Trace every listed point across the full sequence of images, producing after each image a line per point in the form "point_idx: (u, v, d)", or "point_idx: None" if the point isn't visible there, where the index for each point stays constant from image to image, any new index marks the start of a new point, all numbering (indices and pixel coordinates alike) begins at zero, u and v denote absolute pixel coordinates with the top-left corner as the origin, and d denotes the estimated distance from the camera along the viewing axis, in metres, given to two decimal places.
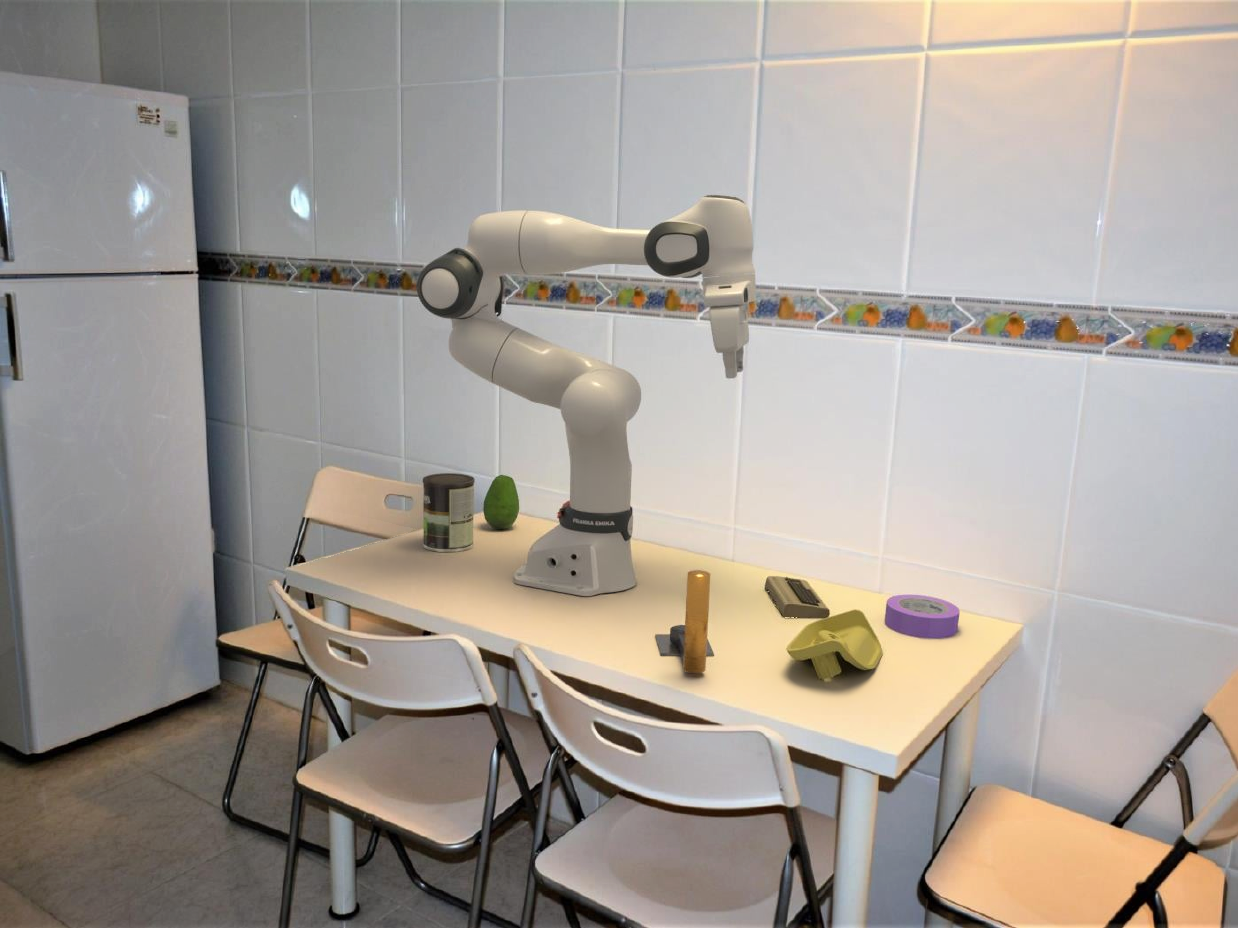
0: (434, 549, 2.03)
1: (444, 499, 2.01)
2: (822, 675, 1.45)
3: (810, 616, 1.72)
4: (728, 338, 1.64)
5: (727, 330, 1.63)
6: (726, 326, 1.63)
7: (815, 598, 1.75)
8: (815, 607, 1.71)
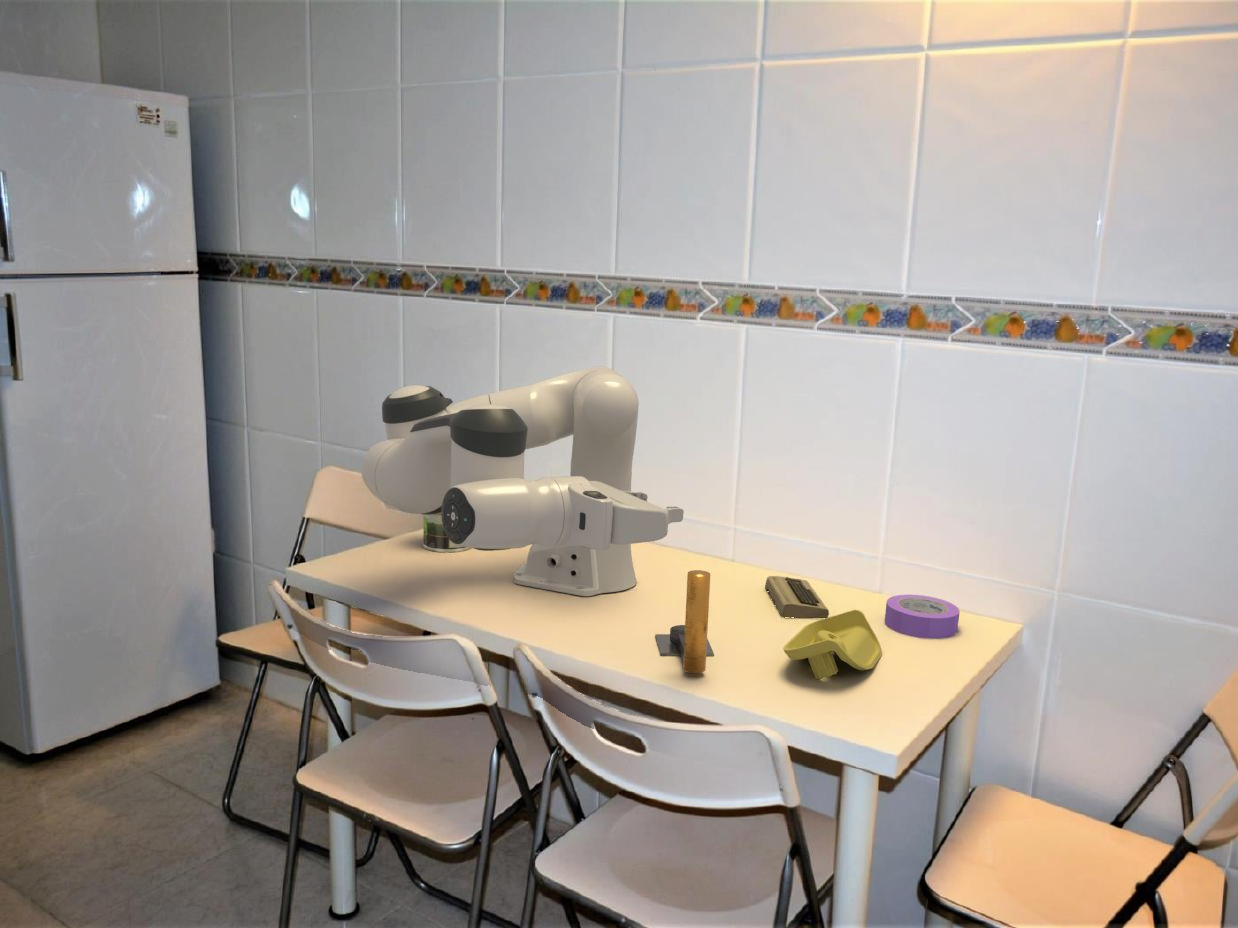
0: (434, 549, 2.03)
1: None
2: (819, 675, 1.45)
3: (809, 616, 1.71)
4: (655, 521, 1.26)
5: (646, 522, 1.26)
6: (641, 523, 1.25)
7: (814, 598, 1.75)
8: (814, 607, 1.71)
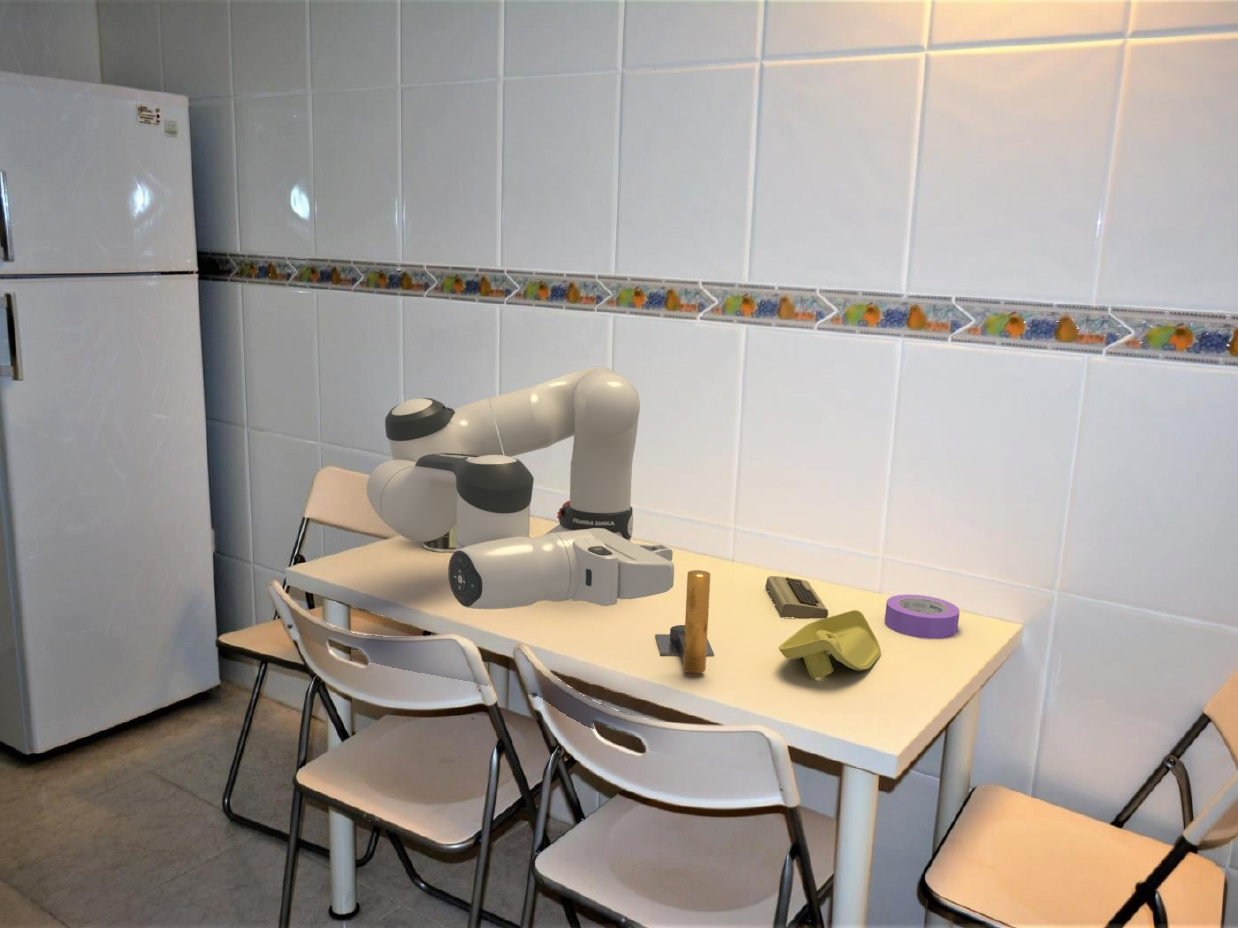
0: (434, 549, 2.03)
1: None
2: (813, 674, 1.45)
3: (808, 616, 1.71)
4: (661, 574, 1.27)
5: (652, 576, 1.26)
6: (647, 577, 1.26)
7: (814, 598, 1.75)
8: (813, 607, 1.71)
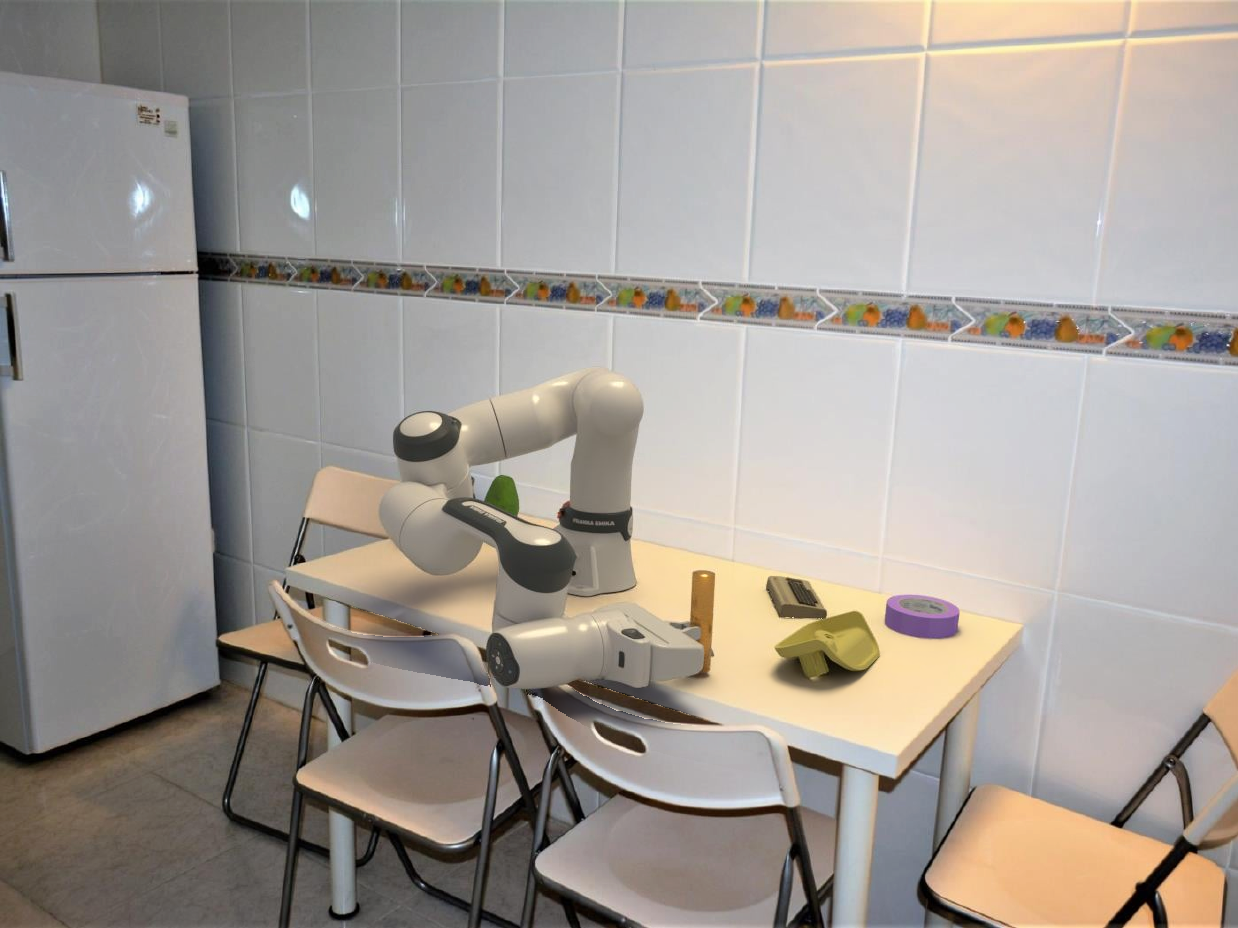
0: None
1: None
2: (808, 674, 1.45)
3: (807, 617, 1.71)
4: (692, 657, 1.31)
5: (682, 659, 1.31)
6: (678, 661, 1.31)
7: (813, 599, 1.75)
8: (812, 608, 1.71)
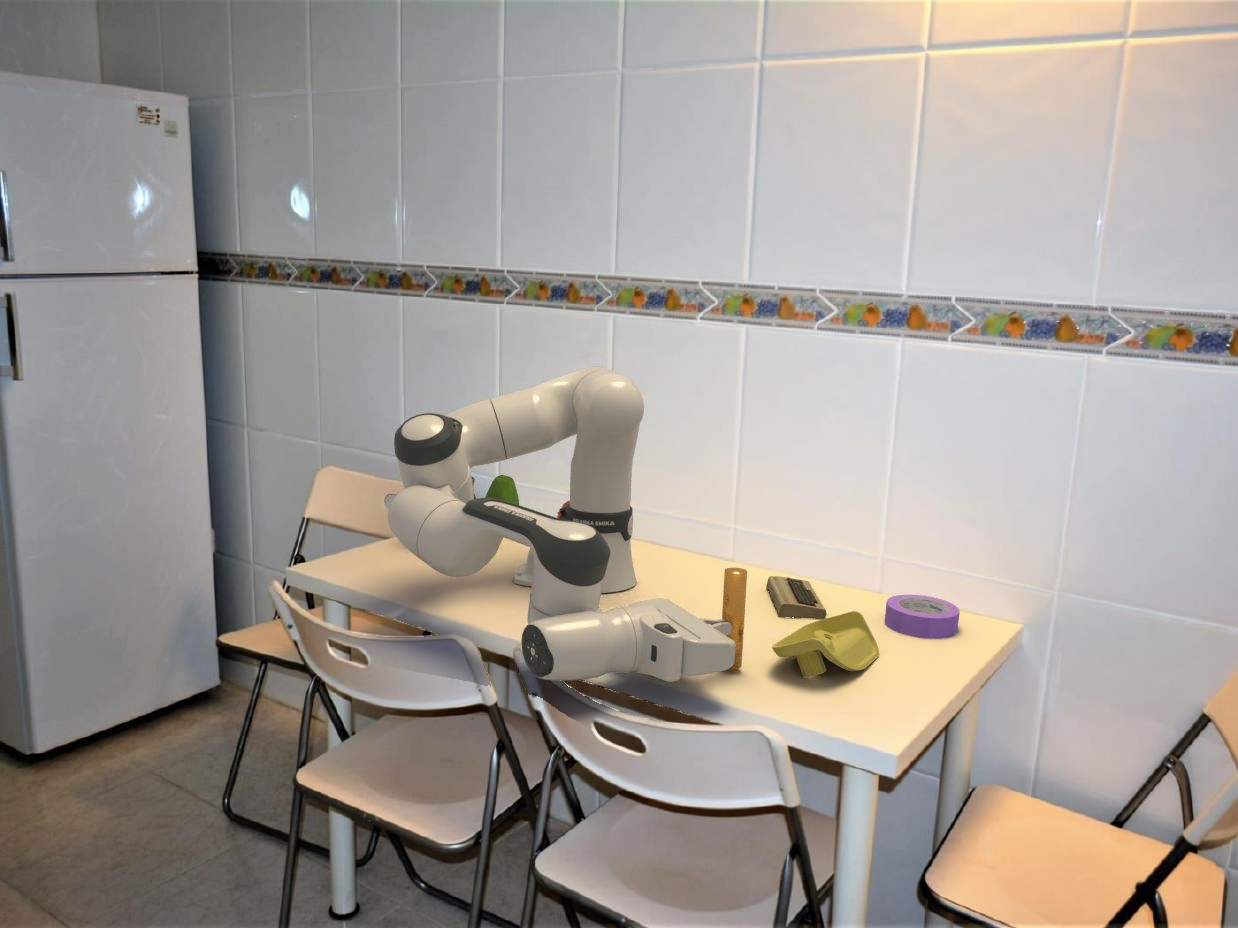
0: None
1: None
2: (805, 673, 1.46)
3: (806, 616, 1.71)
4: (723, 653, 1.33)
5: (714, 654, 1.33)
6: (709, 656, 1.32)
7: (813, 599, 1.75)
8: (811, 607, 1.71)
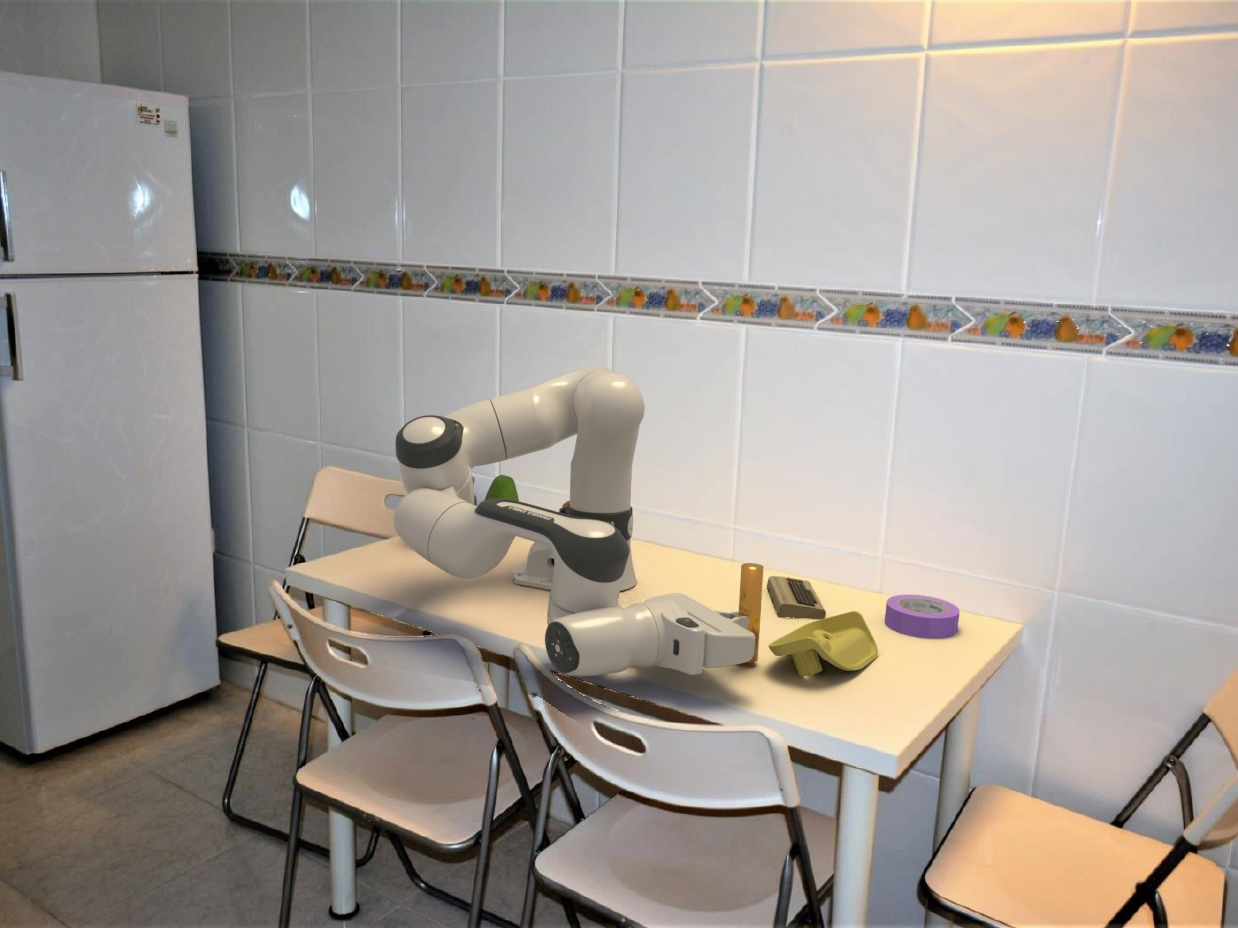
0: None
1: None
2: (801, 672, 1.46)
3: (806, 616, 1.71)
4: (744, 645, 1.36)
5: (735, 647, 1.35)
6: (731, 648, 1.35)
7: (813, 599, 1.75)
8: (810, 608, 1.71)
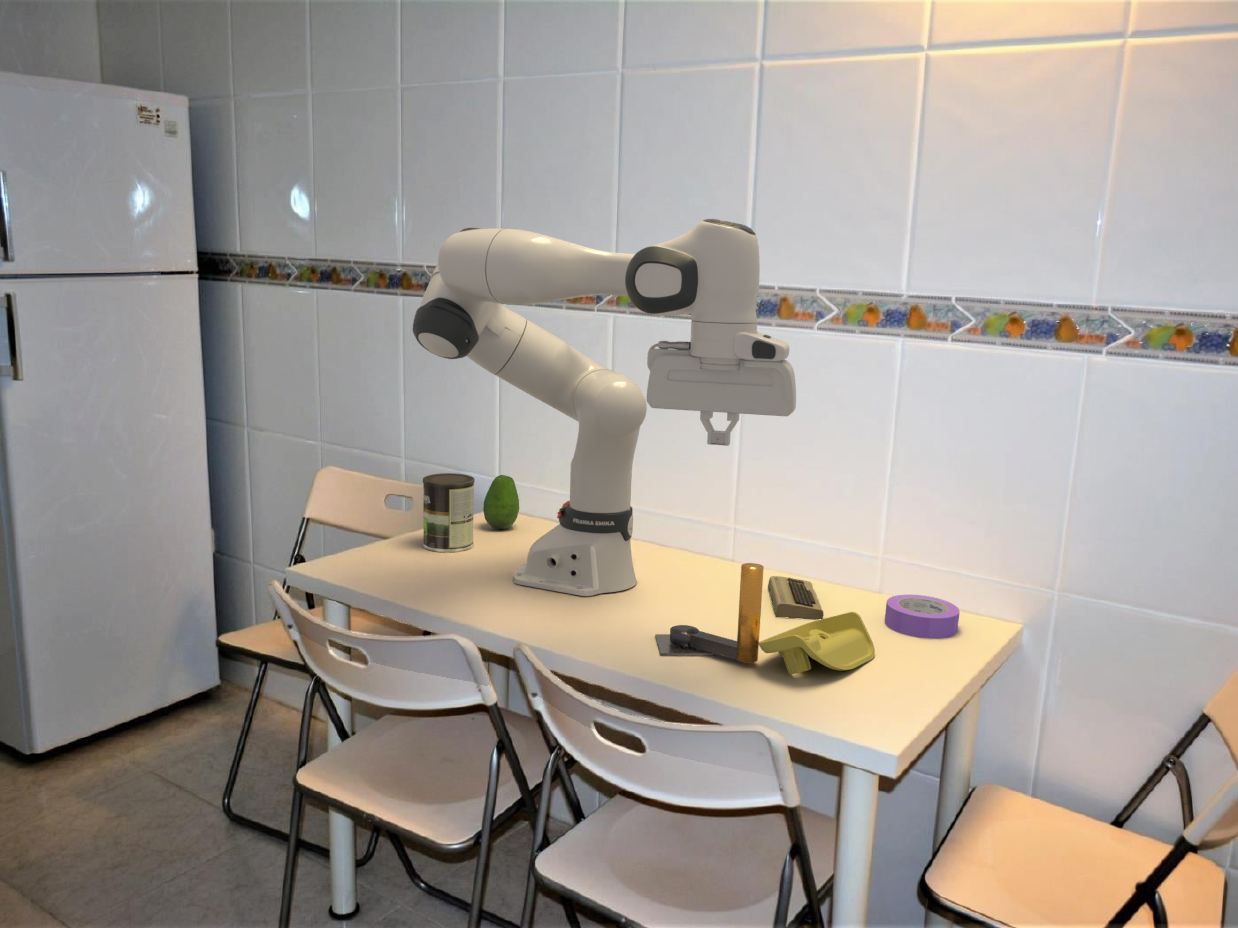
0: (434, 549, 2.03)
1: (444, 499, 2.01)
2: (790, 670, 1.46)
3: (803, 617, 1.71)
4: (795, 398, 1.37)
5: None
6: (794, 384, 1.36)
7: (811, 599, 1.74)
8: (808, 608, 1.71)
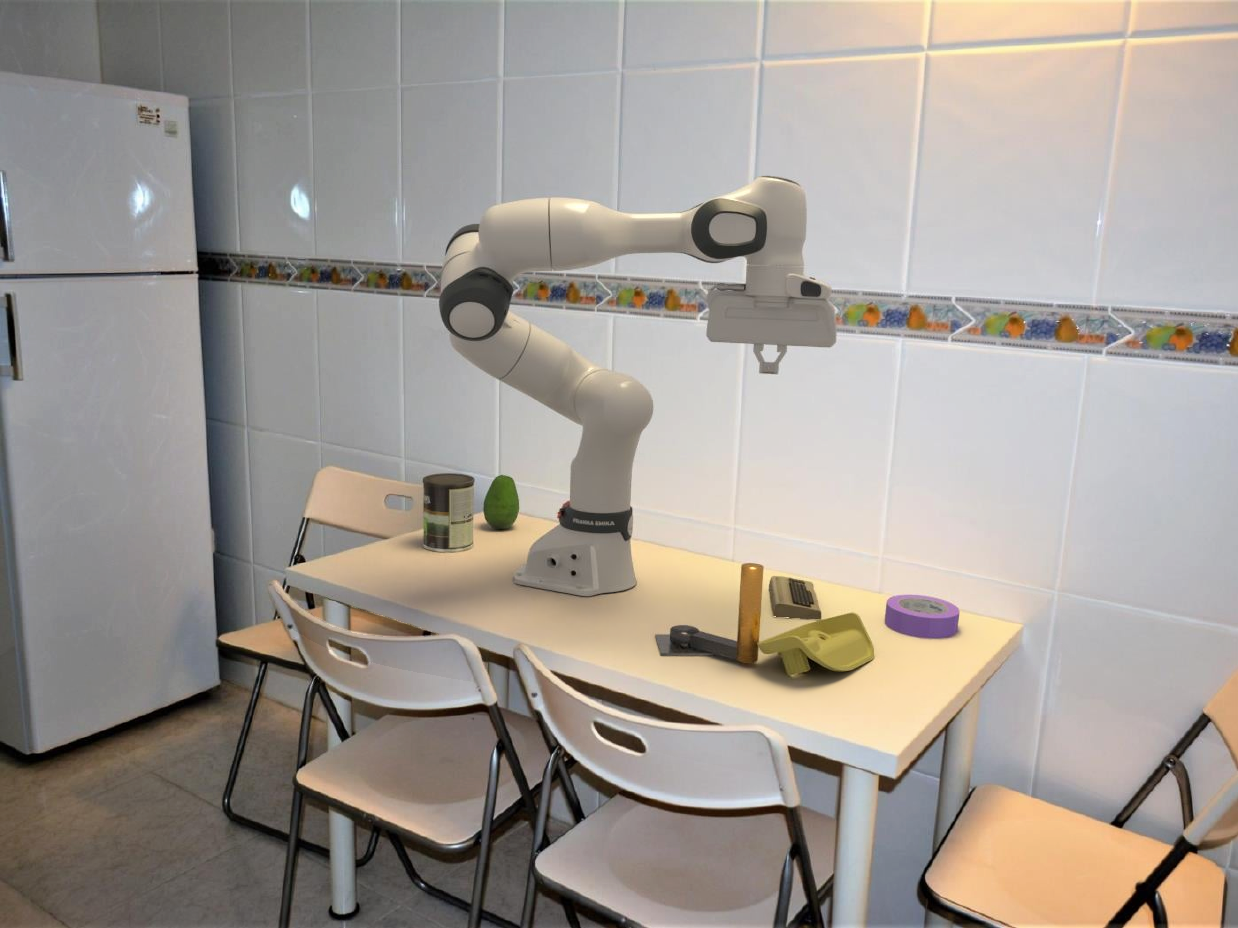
0: (434, 549, 2.03)
1: (444, 499, 2.01)
2: (788, 671, 1.46)
3: (801, 617, 1.71)
4: (836, 332, 1.58)
5: None
6: None
7: (810, 599, 1.74)
8: (806, 608, 1.71)
